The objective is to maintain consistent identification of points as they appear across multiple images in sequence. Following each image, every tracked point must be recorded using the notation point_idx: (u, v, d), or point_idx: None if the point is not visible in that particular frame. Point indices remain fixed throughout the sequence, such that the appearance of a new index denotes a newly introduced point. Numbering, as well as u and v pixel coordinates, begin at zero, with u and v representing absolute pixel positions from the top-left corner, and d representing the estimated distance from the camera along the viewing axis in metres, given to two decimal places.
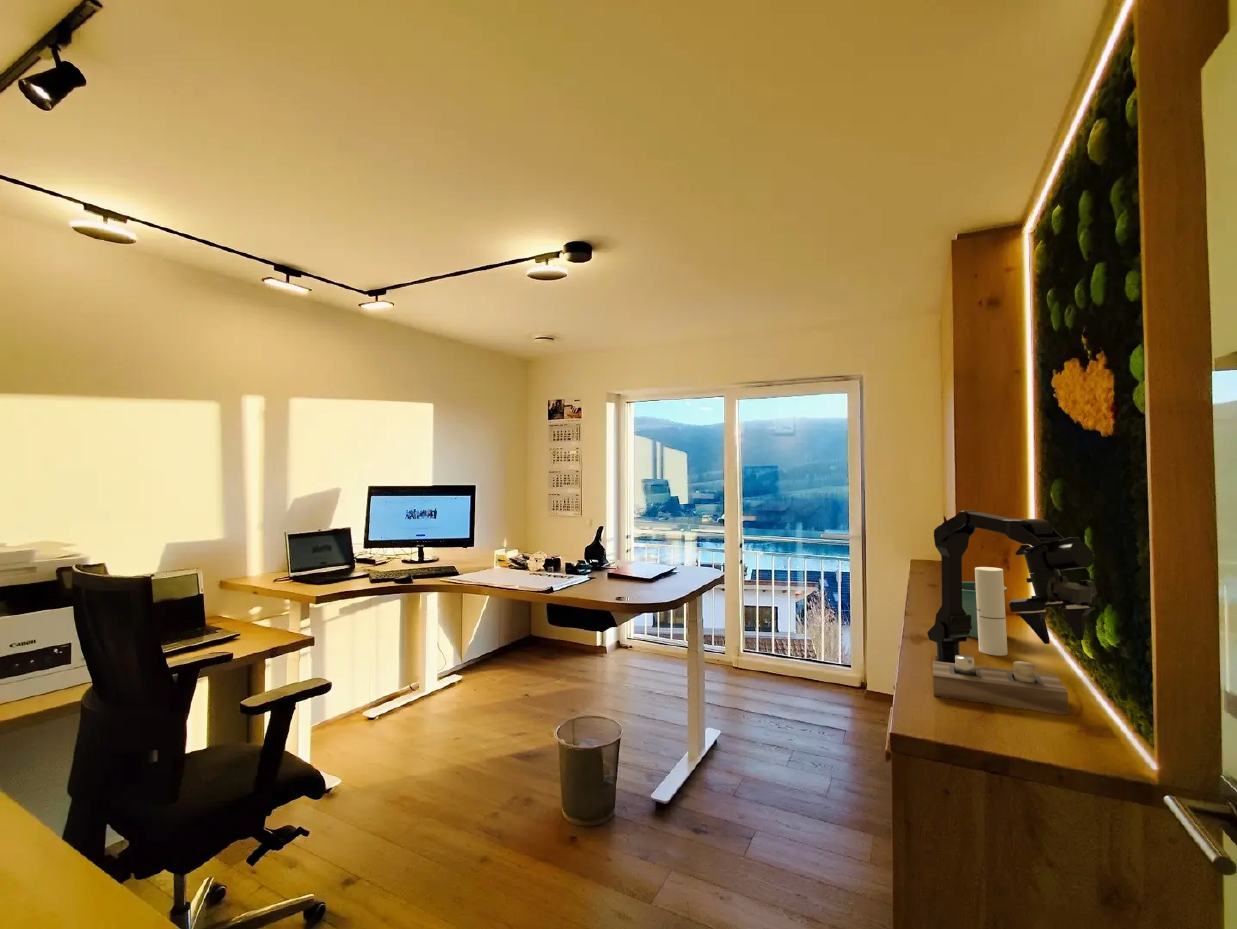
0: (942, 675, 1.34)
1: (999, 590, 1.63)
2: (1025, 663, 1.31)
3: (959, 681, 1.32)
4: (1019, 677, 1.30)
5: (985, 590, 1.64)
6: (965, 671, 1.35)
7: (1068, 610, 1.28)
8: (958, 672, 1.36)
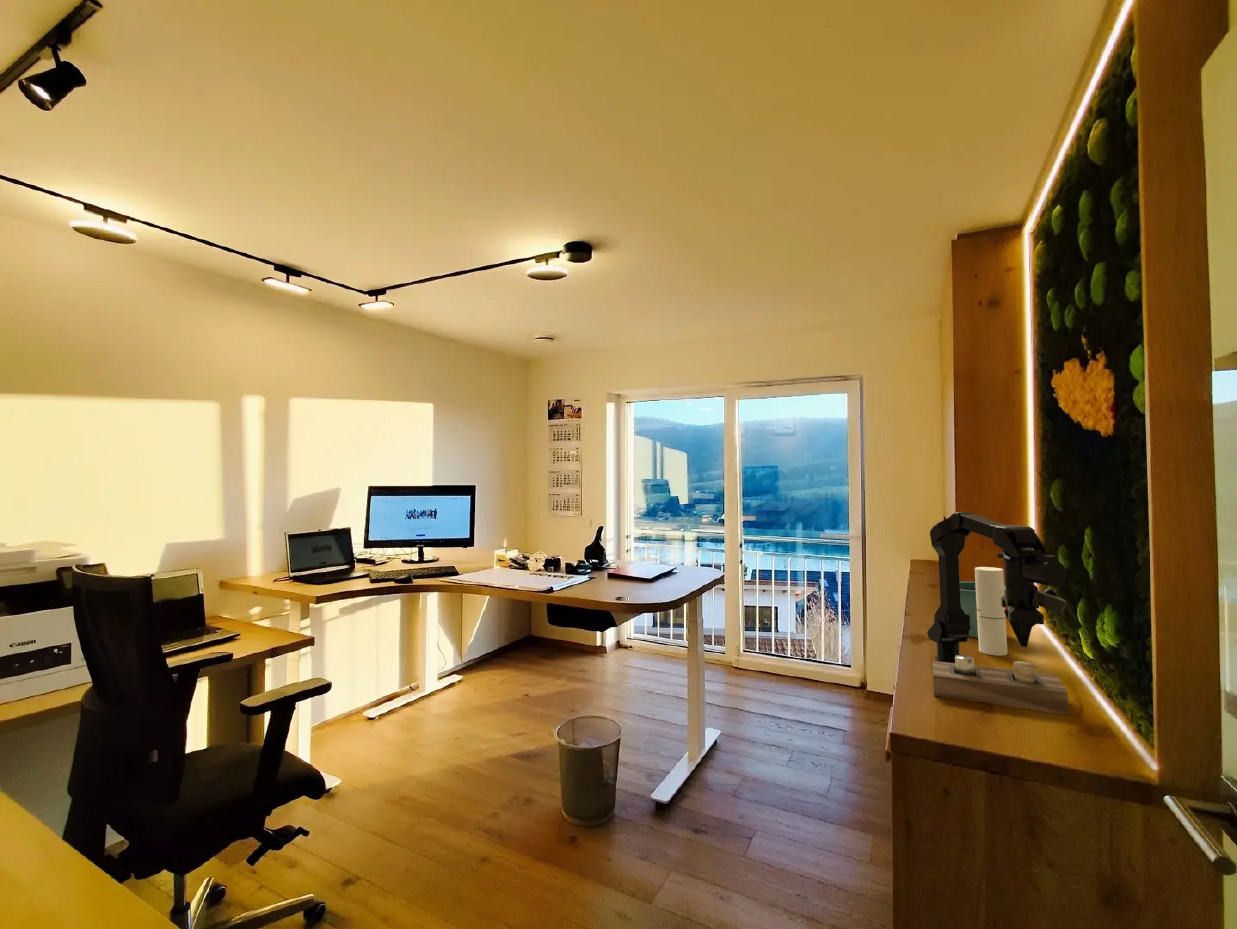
0: (942, 675, 1.34)
1: (999, 590, 1.63)
2: (1025, 663, 1.31)
3: (959, 681, 1.32)
4: (1019, 677, 1.30)
5: (985, 590, 1.64)
6: (965, 671, 1.35)
7: None
8: (958, 672, 1.36)
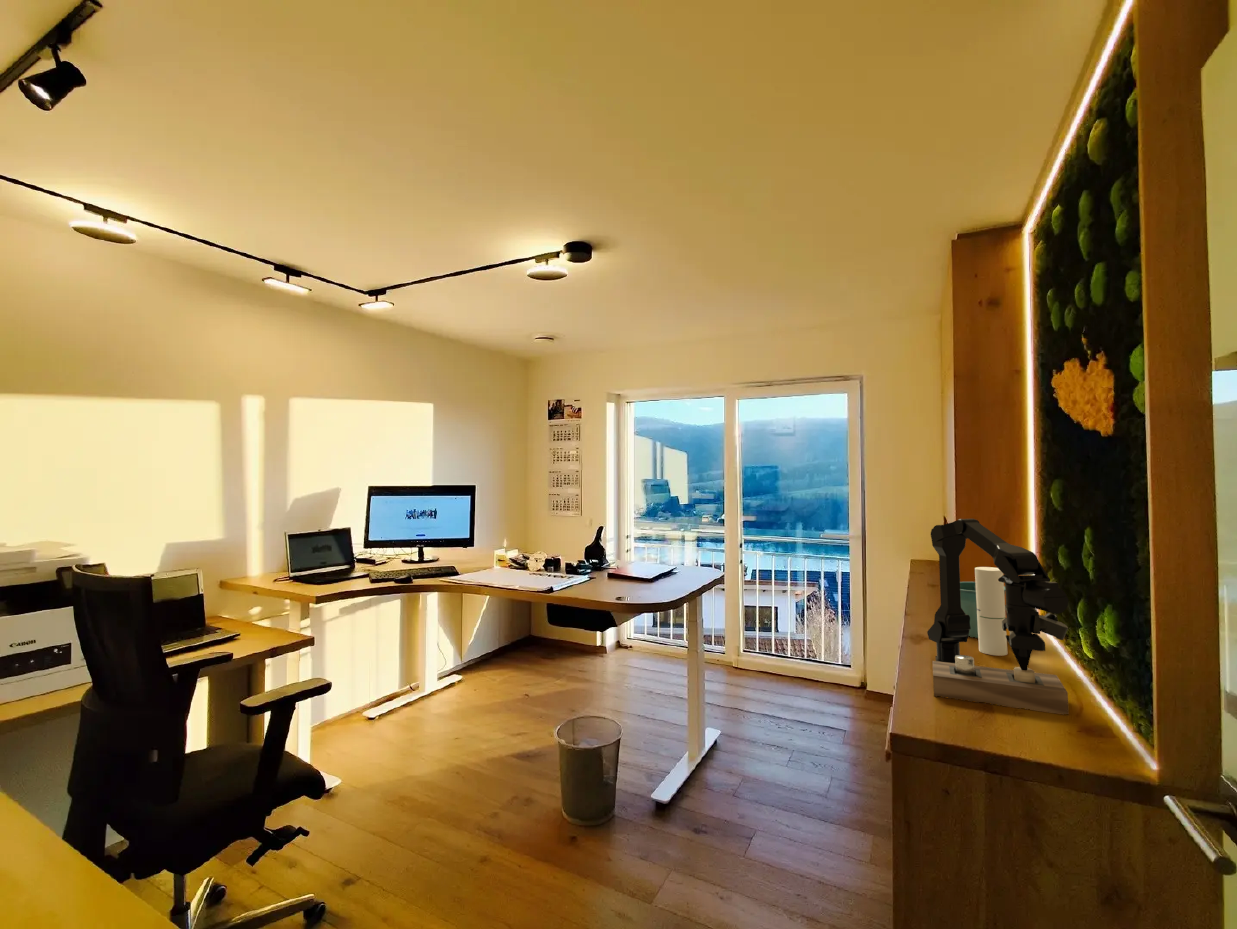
0: (942, 675, 1.34)
1: (999, 590, 1.63)
2: None
3: (959, 681, 1.32)
4: None
5: (985, 590, 1.64)
6: (965, 671, 1.35)
7: None
8: (958, 672, 1.36)
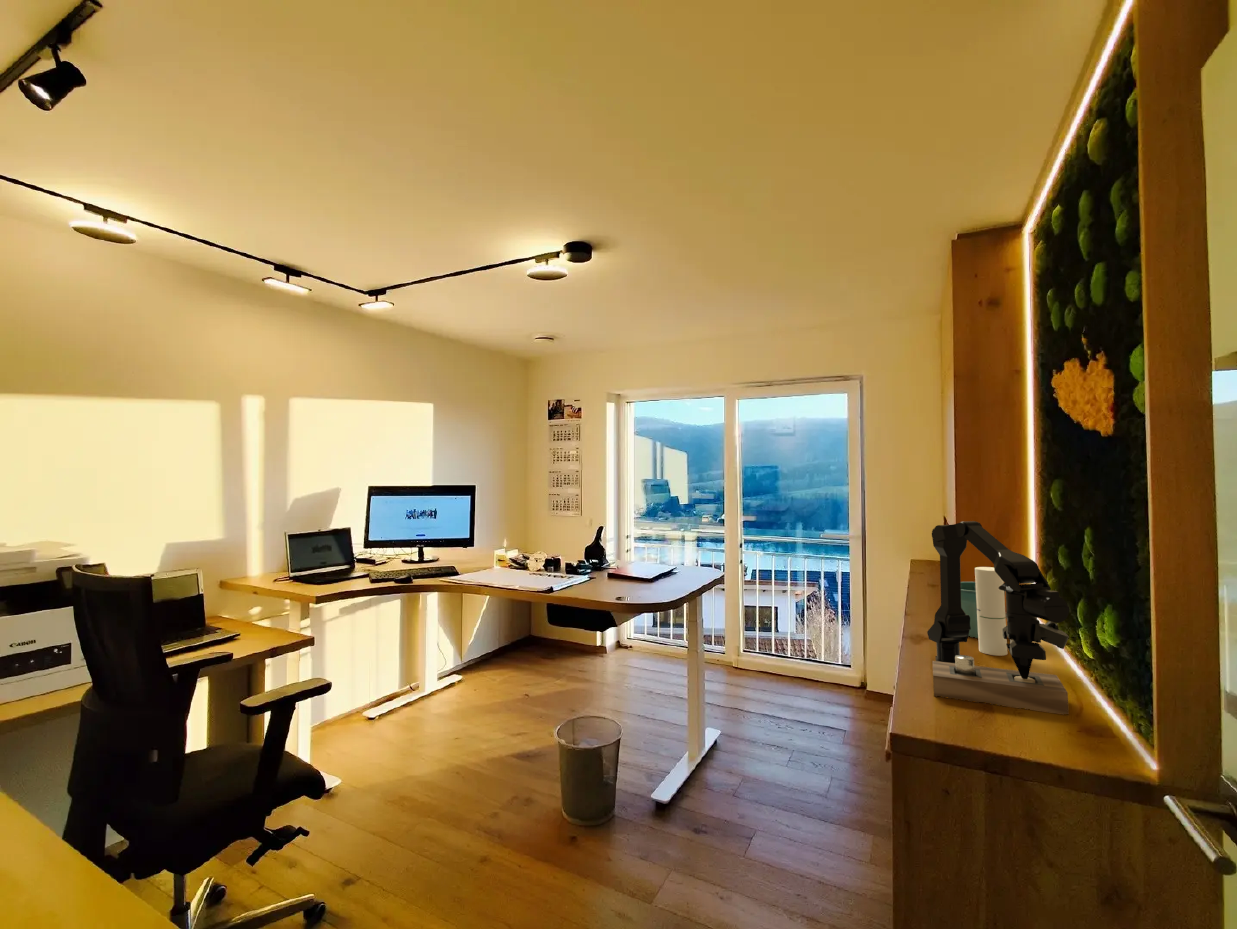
0: (942, 675, 1.34)
1: (999, 590, 1.63)
2: None
3: (959, 681, 1.32)
4: None
5: (985, 590, 1.64)
6: (965, 671, 1.35)
7: None
8: (958, 672, 1.36)
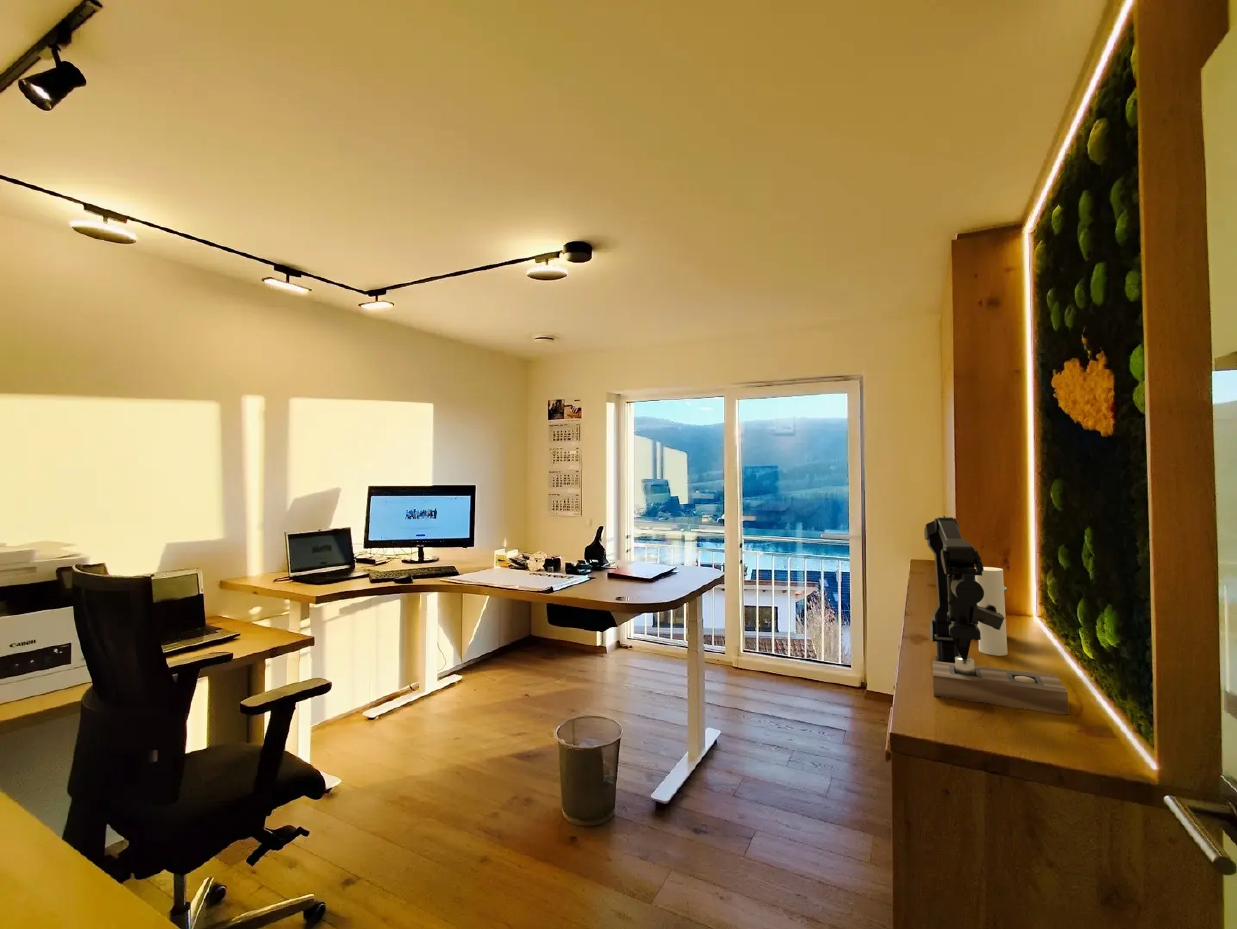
0: (942, 675, 1.34)
1: (999, 590, 1.63)
2: (1026, 678, 1.31)
3: (959, 681, 1.32)
4: None
5: (985, 590, 1.64)
6: (965, 672, 1.35)
7: None
8: (958, 673, 1.36)
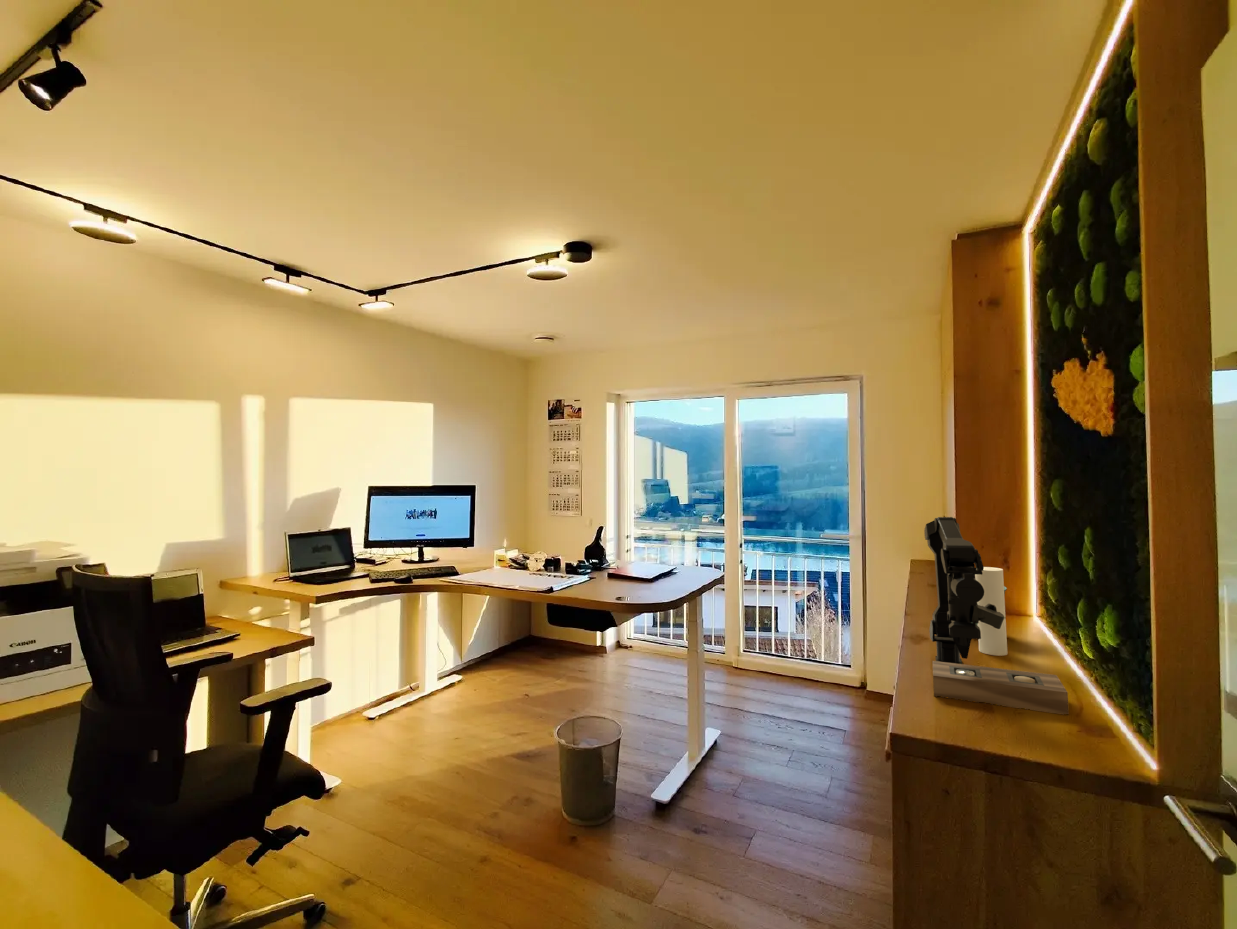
0: (942, 675, 1.34)
1: (999, 590, 1.63)
2: (1026, 678, 1.31)
3: (959, 681, 1.32)
4: None
5: (985, 590, 1.64)
6: None
7: None
8: None
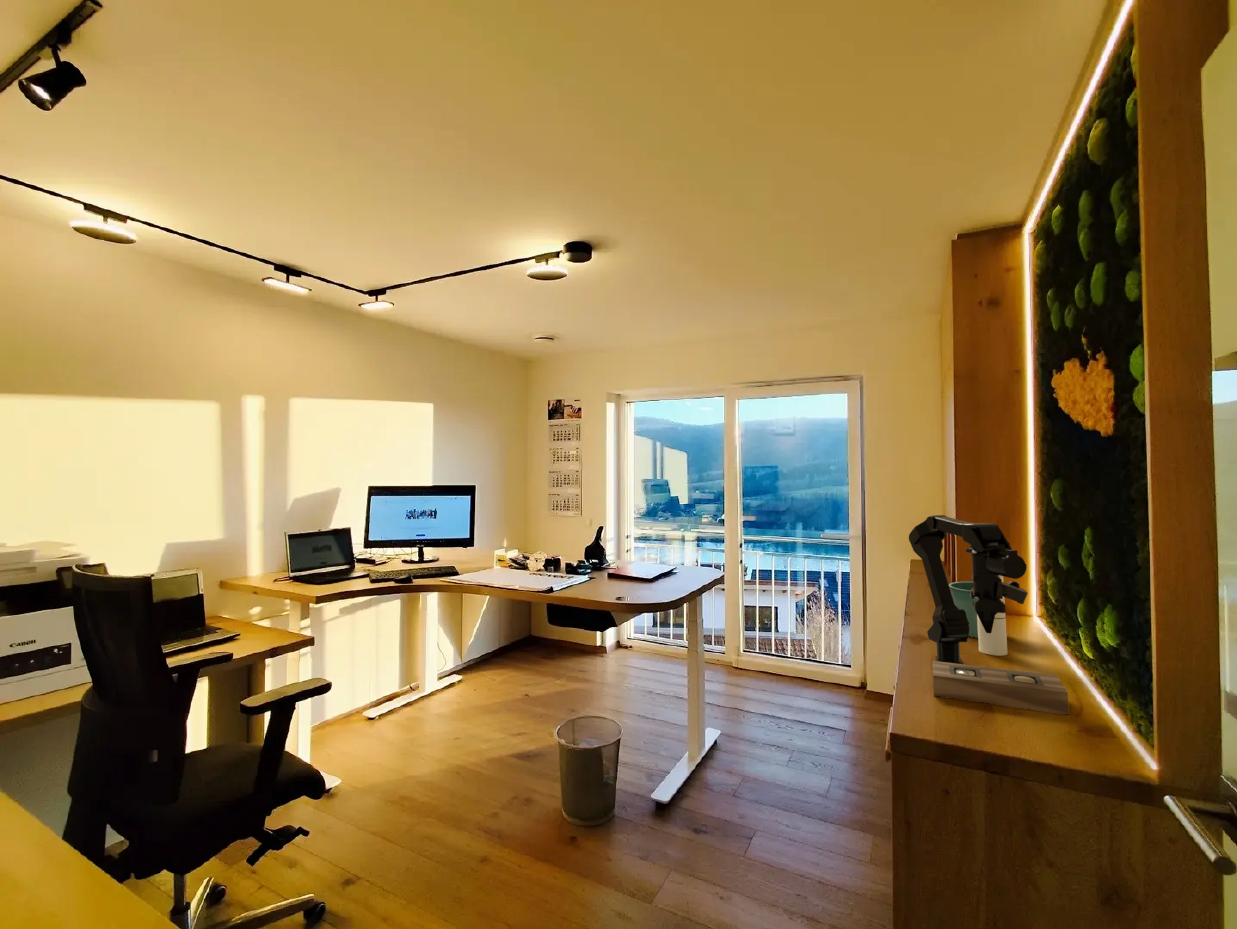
0: (942, 675, 1.34)
1: None
2: (1026, 678, 1.31)
3: (959, 681, 1.32)
4: None
5: None
6: None
7: None
8: None
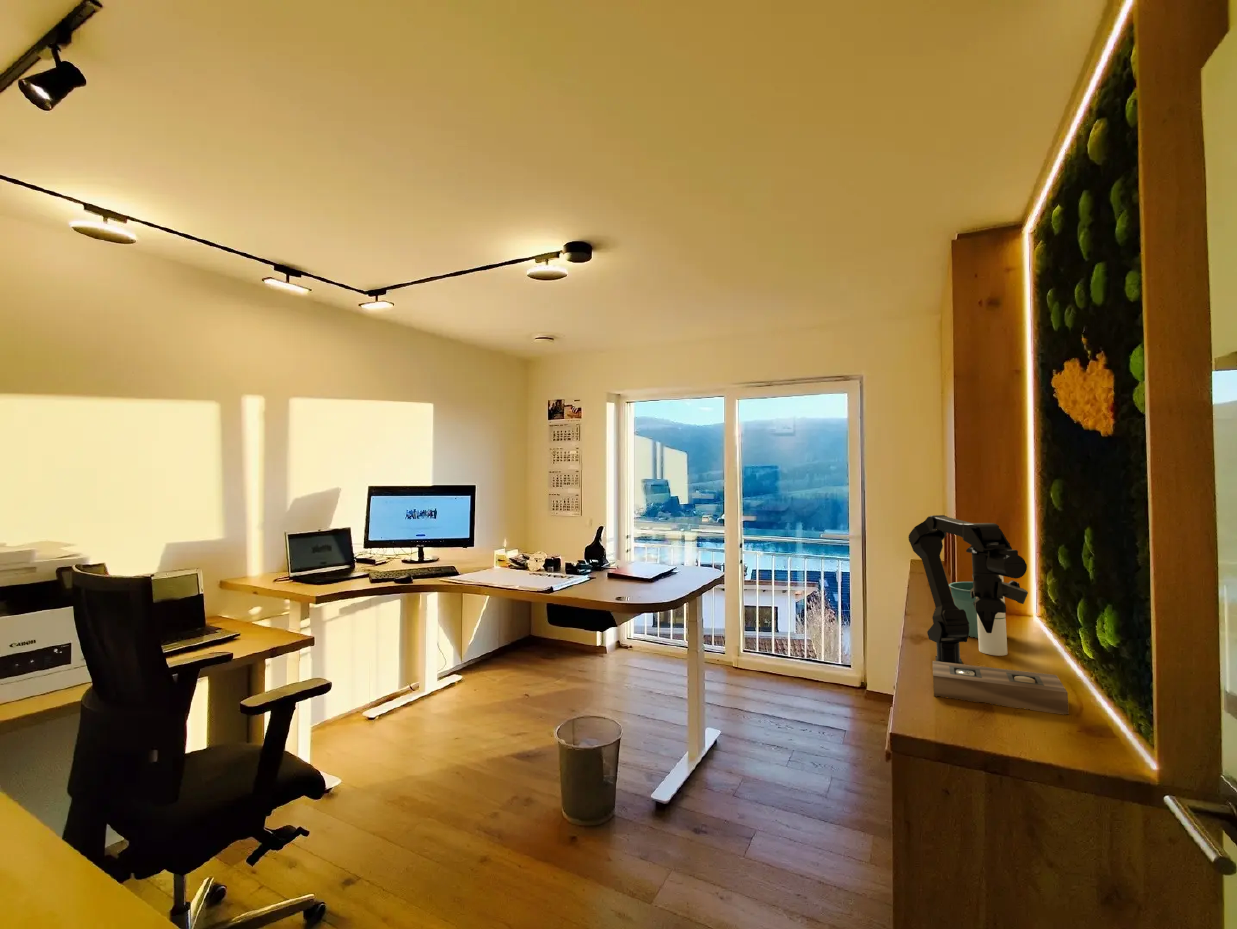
0: (942, 675, 1.34)
1: None
2: (1026, 678, 1.31)
3: (959, 681, 1.32)
4: None
5: None
6: None
7: None
8: None
